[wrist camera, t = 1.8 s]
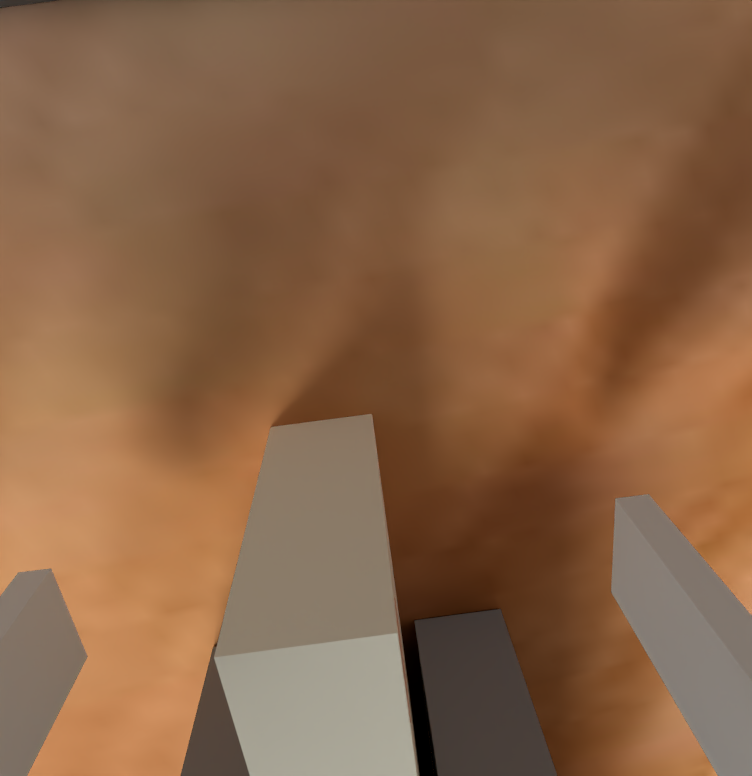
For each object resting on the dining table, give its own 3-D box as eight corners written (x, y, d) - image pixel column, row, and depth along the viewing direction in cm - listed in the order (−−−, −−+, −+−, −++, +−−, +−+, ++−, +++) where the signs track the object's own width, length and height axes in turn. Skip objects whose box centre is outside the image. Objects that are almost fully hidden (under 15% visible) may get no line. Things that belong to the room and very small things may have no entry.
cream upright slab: (334, 730, 22) (331, 1045, 15) (270, 426, 17) (212, 657, 10) (413, 719, 22) (452, 1029, 15) (372, 412, 17) (398, 633, 10)
